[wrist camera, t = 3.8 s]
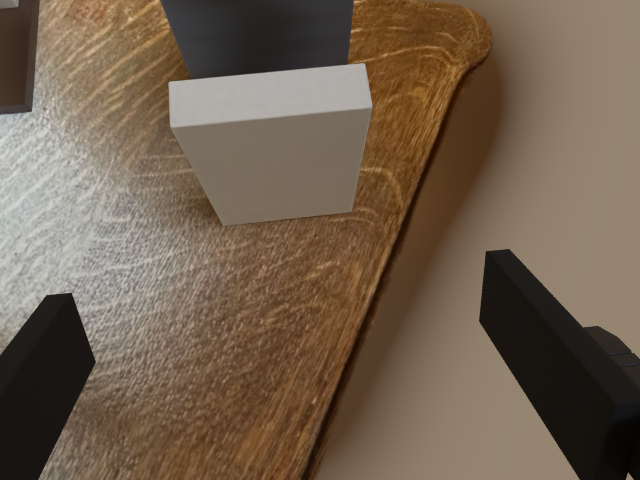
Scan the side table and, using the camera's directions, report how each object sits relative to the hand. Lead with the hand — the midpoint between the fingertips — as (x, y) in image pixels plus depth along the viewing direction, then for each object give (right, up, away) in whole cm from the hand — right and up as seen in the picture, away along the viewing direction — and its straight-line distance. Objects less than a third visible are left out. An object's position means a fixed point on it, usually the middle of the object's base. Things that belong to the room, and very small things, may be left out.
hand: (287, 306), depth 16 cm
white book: (-1, +5, +18) cm, 19 cm away
